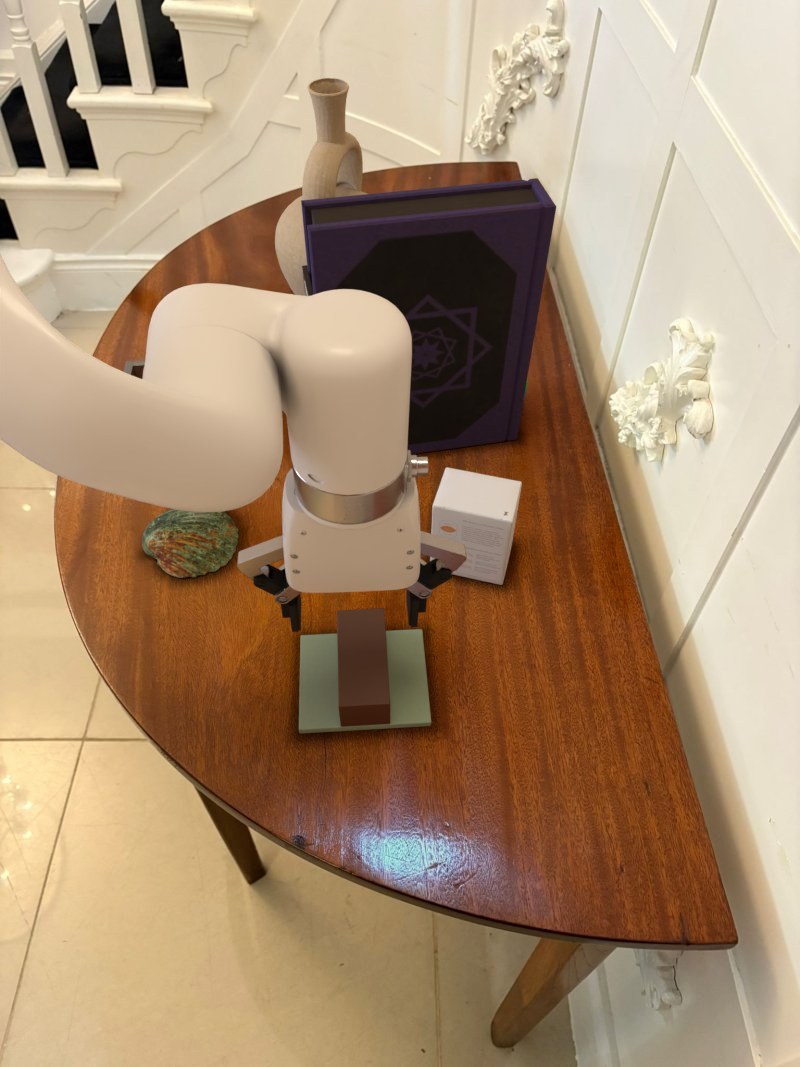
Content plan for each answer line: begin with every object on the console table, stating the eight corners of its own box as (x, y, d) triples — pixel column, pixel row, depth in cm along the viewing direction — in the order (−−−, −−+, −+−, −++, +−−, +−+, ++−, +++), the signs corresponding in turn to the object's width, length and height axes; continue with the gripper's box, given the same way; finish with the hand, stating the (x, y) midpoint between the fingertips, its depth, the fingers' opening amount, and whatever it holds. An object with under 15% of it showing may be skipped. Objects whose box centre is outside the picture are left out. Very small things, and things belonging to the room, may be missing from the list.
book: (503, 409, 98) (537, 175, 75) (517, 442, 95) (558, 207, 71) (318, 433, 95) (295, 197, 72) (326, 470, 91) (303, 232, 68)
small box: (512, 547, 84) (524, 480, 76) (502, 587, 81) (514, 522, 73) (440, 531, 86) (445, 464, 77) (427, 570, 82) (431, 504, 74)
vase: (381, 354, 105) (378, 124, 82) (266, 334, 108) (232, 106, 85) (412, 287, 115) (417, 65, 92) (306, 270, 118) (285, 51, 95)
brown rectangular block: (340, 727, 70) (338, 706, 67) (339, 632, 76) (336, 610, 73) (390, 724, 70) (390, 703, 67) (384, 630, 77) (384, 607, 73)
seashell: (234, 545, 79) (133, 559, 78) (241, 571, 82) (143, 585, 81) (231, 480, 86) (138, 492, 84) (237, 506, 89) (147, 518, 87)
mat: (299, 733, 70) (298, 729, 70) (301, 639, 77) (300, 635, 76) (430, 726, 71) (431, 722, 70) (421, 633, 77) (422, 628, 77)
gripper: (471, 431, 55) (452, 575, 68) (223, 437, 54) (252, 582, 67) (485, 511, 50) (462, 649, 63) (214, 519, 49) (247, 658, 62)
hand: (354, 615), depth 65 cm, fingers open, 9 cm apart
